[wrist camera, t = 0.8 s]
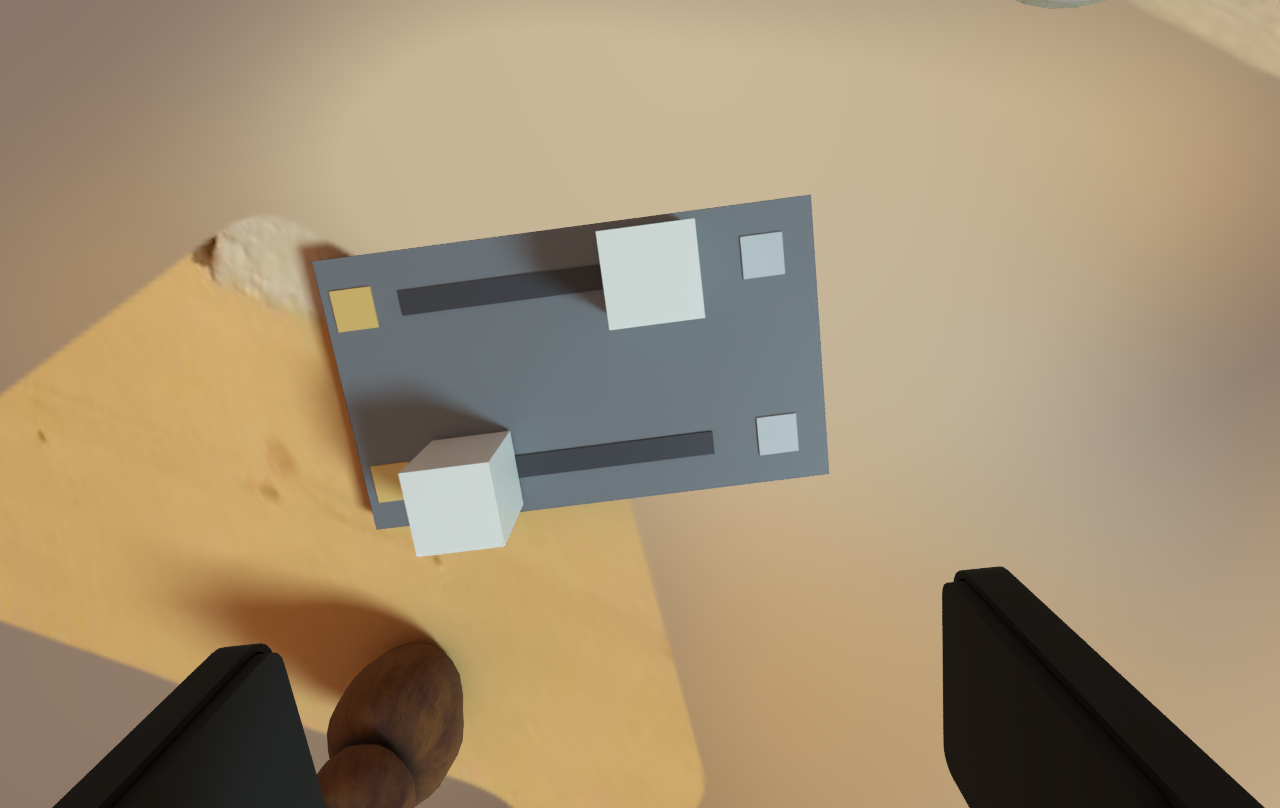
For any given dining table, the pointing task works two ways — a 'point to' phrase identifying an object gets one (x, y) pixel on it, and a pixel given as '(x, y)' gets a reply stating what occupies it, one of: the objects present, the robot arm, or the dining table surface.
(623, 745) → the dining table surface
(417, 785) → the wooden figurine
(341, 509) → the dining table surface
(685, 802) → the dining table surface
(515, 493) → the tab far
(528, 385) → the switch panel
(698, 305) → the tab near
